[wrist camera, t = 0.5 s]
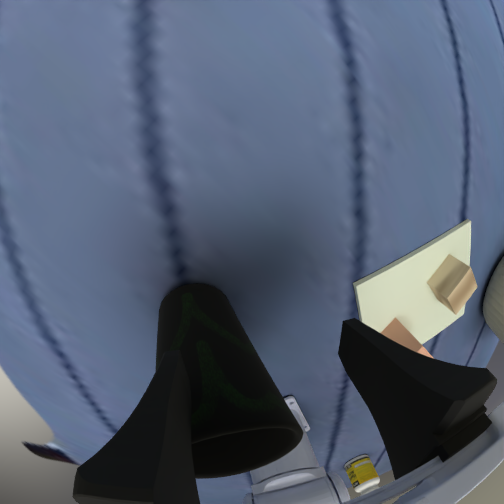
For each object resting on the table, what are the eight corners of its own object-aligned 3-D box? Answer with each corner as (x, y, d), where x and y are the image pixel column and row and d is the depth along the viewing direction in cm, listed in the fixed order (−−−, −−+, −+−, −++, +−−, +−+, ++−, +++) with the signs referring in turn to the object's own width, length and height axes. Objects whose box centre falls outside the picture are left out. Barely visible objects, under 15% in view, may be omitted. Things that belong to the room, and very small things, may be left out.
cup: (261, 300, 23) (329, 429, 13) (202, 356, 24) (237, 479, 14) (185, 251, 19) (224, 414, 9) (127, 322, 20) (131, 470, 10)
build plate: (461, 311, 30) (463, 313, 29) (367, 373, 30) (369, 376, 29) (467, 219, 24) (470, 220, 23) (352, 283, 24) (356, 286, 23)
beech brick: (457, 273, 26) (477, 286, 23) (437, 299, 27) (455, 315, 23) (448, 253, 24) (470, 267, 21) (426, 282, 25) (447, 298, 22)
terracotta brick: (408, 331, 27) (433, 358, 23) (383, 356, 28) (405, 385, 24) (395, 317, 26) (422, 346, 21) (368, 344, 27) (392, 376, 22)
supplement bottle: (345, 460, 42) (362, 497, 33) (369, 450, 42) (388, 486, 33) (342, 469, 44) (357, 503, 35) (365, 459, 44) (381, 492, 35)
